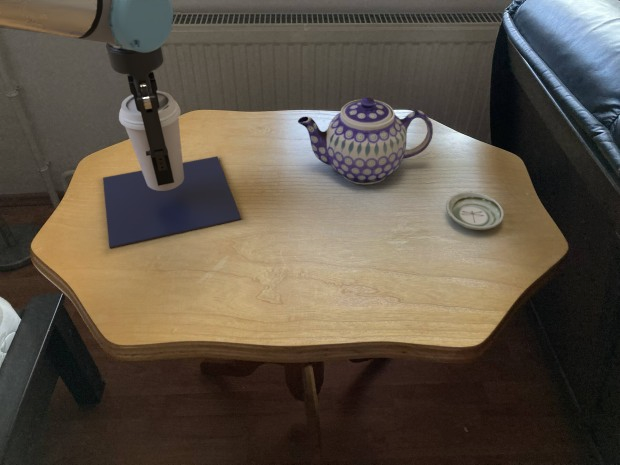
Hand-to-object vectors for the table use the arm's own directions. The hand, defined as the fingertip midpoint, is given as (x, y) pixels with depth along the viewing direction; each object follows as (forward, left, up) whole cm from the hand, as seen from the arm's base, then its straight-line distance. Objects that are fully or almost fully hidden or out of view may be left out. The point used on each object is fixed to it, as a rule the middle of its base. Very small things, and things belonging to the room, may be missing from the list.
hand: (162, 169), depth 89 cm
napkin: (0, 0, -6) cm, 6 cm away
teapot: (+37, -3, -6) cm, 38 cm away
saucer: (+49, -23, -7) cm, 55 cm away
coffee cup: (0, 0, -2) cm, 2 cm away
